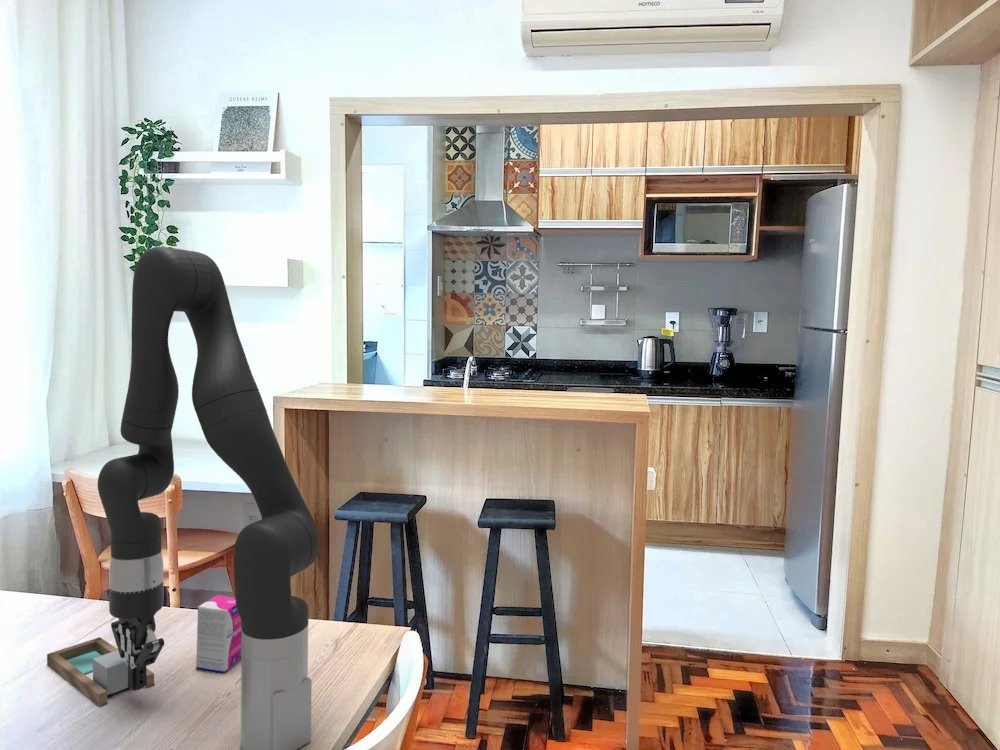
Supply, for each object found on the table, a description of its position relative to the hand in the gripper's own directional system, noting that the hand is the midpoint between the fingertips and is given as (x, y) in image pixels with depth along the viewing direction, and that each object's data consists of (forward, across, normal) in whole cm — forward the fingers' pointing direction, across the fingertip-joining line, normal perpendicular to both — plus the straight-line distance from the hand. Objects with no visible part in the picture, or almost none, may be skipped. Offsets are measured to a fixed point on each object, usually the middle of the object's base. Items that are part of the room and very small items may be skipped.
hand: (137, 687), depth 108 cm
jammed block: (+3, +7, 0) cm, 8 cm away
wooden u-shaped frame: (+3, +13, 0) cm, 14 cm away
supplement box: (+3, +1, -15) cm, 15 cm away
